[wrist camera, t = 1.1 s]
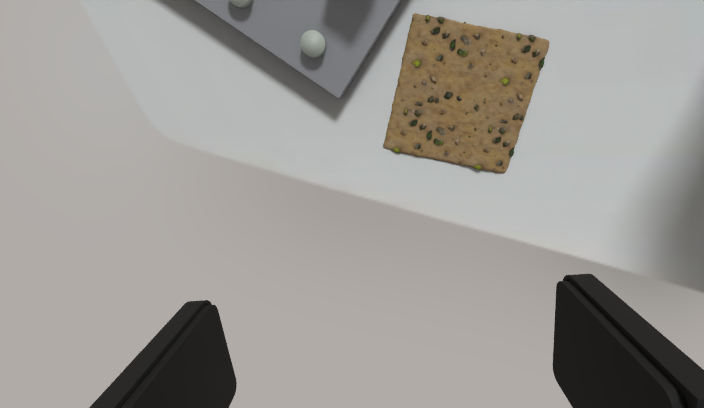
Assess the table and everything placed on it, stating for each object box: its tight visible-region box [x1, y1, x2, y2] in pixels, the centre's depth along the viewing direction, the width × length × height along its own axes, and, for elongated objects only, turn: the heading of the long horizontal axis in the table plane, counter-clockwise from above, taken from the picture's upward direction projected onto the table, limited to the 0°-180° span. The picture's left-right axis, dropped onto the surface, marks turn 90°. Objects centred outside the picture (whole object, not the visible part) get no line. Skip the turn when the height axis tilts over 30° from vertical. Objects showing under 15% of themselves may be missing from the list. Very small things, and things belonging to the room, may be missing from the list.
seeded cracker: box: [383, 14, 549, 173], centre depth 32 cm, size 12×12×1 cm
